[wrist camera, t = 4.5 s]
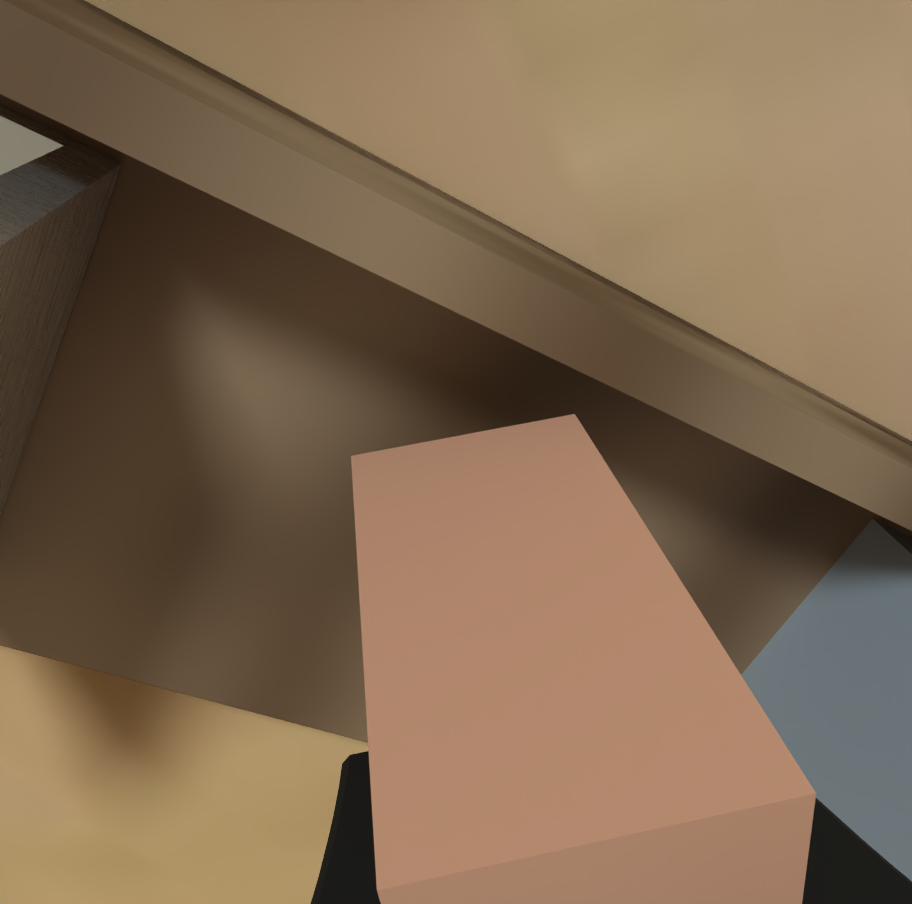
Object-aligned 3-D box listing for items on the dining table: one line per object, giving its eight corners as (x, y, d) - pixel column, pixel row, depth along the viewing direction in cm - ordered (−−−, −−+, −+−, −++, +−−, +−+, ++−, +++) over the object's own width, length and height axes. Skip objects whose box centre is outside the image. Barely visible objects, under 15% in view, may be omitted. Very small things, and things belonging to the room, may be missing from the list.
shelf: (1038, 509, 17) (1225, 637, 13) (750, 819, 20) (838, 985, 17) (-353, -232, 9) (-804, -404, 5) (-426, 492, 12) (-726, 678, 9)
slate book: (977, 567, 16) (1288, 829, 11) (765, 796, 19) (937, 1099, 13) (872, 518, 15) (1160, 780, 10) (663, 766, 18) (806, 1080, 12)
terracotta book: (574, 414, 11) (814, 793, 5) (599, 768, 14) (762, 1213, 9) (350, 455, 10) (376, 891, 5) (430, 805, 14) (495, 1281, 9)
